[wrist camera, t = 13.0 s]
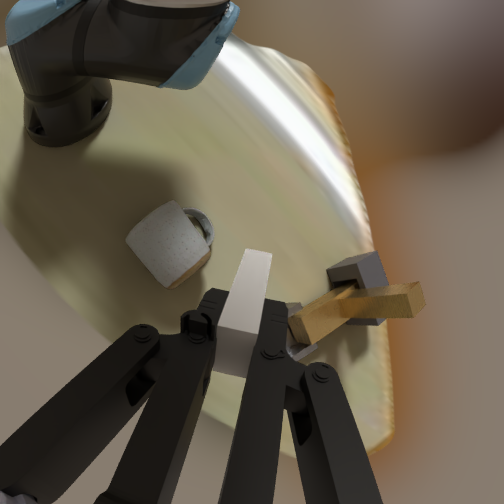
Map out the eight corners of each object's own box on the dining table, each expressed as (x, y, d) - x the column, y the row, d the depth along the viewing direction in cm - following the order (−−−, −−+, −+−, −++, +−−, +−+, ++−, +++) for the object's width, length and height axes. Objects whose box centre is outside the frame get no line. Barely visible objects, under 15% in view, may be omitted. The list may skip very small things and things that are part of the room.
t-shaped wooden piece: (286, 317, 38) (369, 320, 23) (352, 276, 44) (433, 262, 29) (296, 341, 38) (380, 355, 23) (360, 298, 44) (441, 291, 29)
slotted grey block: (326, 269, 44) (356, 263, 37) (346, 258, 46) (376, 250, 39) (347, 324, 43) (378, 325, 37) (365, 310, 46) (396, 309, 39)
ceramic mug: (166, 295, 34) (173, 292, 27) (125, 246, 33) (122, 230, 26) (224, 242, 38) (244, 228, 31) (185, 197, 37) (197, 173, 30)
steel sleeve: (237, 328, 37) (248, 330, 33) (285, 303, 40) (300, 302, 36) (258, 371, 37) (270, 377, 33) (302, 344, 40) (318, 347, 36)
